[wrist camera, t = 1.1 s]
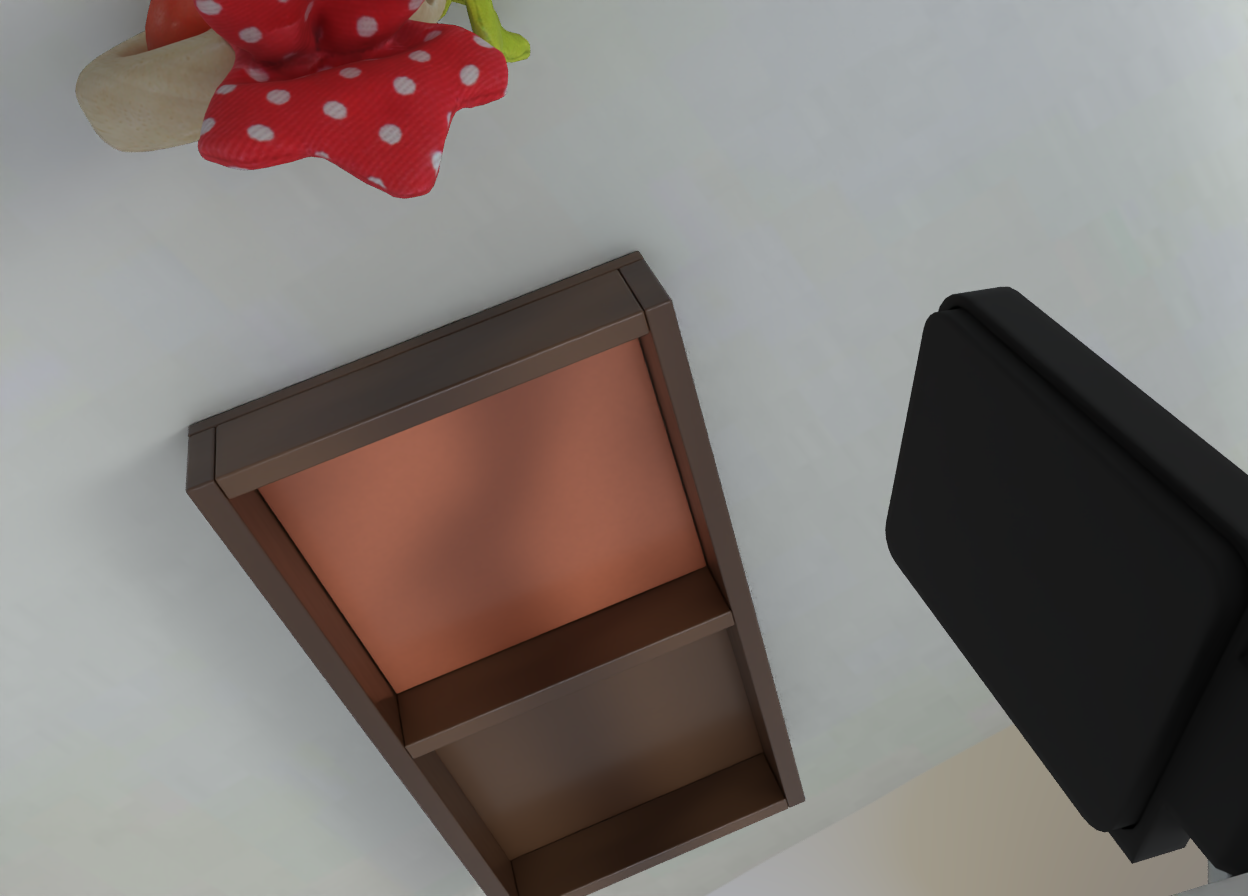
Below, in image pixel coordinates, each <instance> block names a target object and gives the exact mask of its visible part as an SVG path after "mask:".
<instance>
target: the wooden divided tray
mask: <svg viewBox="0 0 1248 896" xmlns="http://www.w3.org/2000/svg"><path fill="white" fill-rule="evenodd" d="M188 437H189V440H188V458H187V476H186V493H187V494H188V495H189V497H190V498H191V499H192V501H193V502H194V503H195V505H196V506H197V507H198V509H199V510H200V512H201V513H202V514H203V516H204V517H205V518H206V520H207V521H208V522H209V524H210V525H211V526H212V528H213V529H214V530H215V532H216V533H217V534H218V536H219V537H220V538H221V540H222V541H223V542H224V544H225V545H226V546H227V548H228V549H229V550H230V552H231V553H232V554H233V556H234V557H235V558H236V560H237V561H238V563H239V564H240V565H241V567H242V568H243V569H244V571H245V572H246V573H247V575H248V576H249V577H250V579H251V580H252V581H253V583H254V584H255V585H256V587H257V588H258V589H259V591H260V592H261V593H262V595H263V596H264V597H265V599H266V600H267V601H268V603H269V604H270V605H271V607H272V608H273V610H274V611H275V612H276V614H277V615H278V616H279V618H280V619H281V620H282V622H283V623H284V624H285V626H286V627H287V628H288V630H289V631H290V632H291V634H292V635H293V636H294V638H295V639H296V640H297V642H298V643H299V644H300V646H301V647H302V648H303V650H304V651H305V652H306V654H307V655H308V656H309V658H310V659H311V661H312V662H313V663H314V665H315V666H316V667H317V669H318V670H319V671H320V673H321V674H322V675H323V677H324V678H325V679H326V681H327V682H328V683H329V685H330V686H331V687H332V689H333V690H334V691H335V693H336V694H337V695H338V697H339V698H340V699H341V701H342V702H343V703H344V705H345V706H346V708H347V709H348V710H349V712H350V713H351V714H352V716H353V717H354V718H355V720H356V721H357V722H358V724H359V725H360V726H361V728H362V729H363V730H364V732H365V733H366V734H367V736H368V737H369V738H370V740H371V741H372V742H373V744H374V745H375V746H376V748H377V749H378V750H379V752H380V753H381V754H382V756H383V757H384V759H385V760H386V761H387V763H388V764H389V765H390V767H391V768H392V769H393V771H394V772H395V773H396V775H397V776H398V777H399V779H400V780H401V781H402V783H403V784H404V785H405V787H406V788H407V789H408V791H409V792H410V793H411V795H412V796H413V797H414V799H415V800H416V801H417V803H418V804H419V806H420V807H421V808H422V810H423V811H424V812H425V814H426V815H427V816H428V818H429V819H430V820H431V822H432V823H433V824H434V826H435V827H436V828H437V830H438V831H439V832H440V834H441V835H442V836H443V838H444V839H445V840H446V842H447V843H448V844H449V846H450V847H451V848H452V850H453V851H454V852H455V854H456V855H457V857H458V858H459V859H460V861H461V862H462V863H463V865H464V866H465V867H466V869H467V870H468V871H469V873H470V874H471V875H472V877H473V878H474V879H475V881H476V882H477V883H478V885H479V886H480V887H481V889H482V890H483V891H484V893H485V894H486V895H487V896H586V895H588V894H591V893H593V892H595V891H598V890H600V889H602V888H605V887H607V886H609V885H612V884H614V883H616V882H619V881H621V880H623V879H626V878H628V877H630V876H632V875H635V874H637V873H639V872H642V871H644V870H646V869H649V868H651V867H653V866H656V865H658V864H660V863H663V862H665V861H667V860H670V859H672V858H674V857H677V856H679V855H681V854H684V853H686V852H688V851H690V850H693V849H695V848H697V847H700V846H702V845H704V844H707V843H709V842H711V841H714V840H716V839H718V838H721V837H723V836H725V835H728V834H730V833H732V832H735V831H737V830H739V829H741V828H744V827H746V826H748V825H751V824H753V823H755V822H758V821H760V820H762V819H765V818H767V817H769V816H772V815H774V814H776V813H779V812H781V811H783V810H786V809H788V807H792V806H795V805H797V804H799V803H802V802H804V801H805V796H804V792H803V789H802V785H801V781H800V778H799V774H798V770H797V766H796V763H795V759H794V755H793V751H792V748H791V744H790V740H789V736H788V733H787V729H786V725H785V721H784V718H783V714H782V710H781V707H780V703H779V699H778V695H777V692H776V688H775V684H774V680H773V677H772V673H771V669H770V665H769V662H768V658H767V654H766V650H765V647H764V643H763V639H762V636H761V632H760V628H759V624H758V621H757V617H756V613H755V609H754V606H753V602H752V598H751V594H750V591H749V587H748V583H747V579H746V576H745V572H744V568H743V565H742V561H741V557H740V553H739V550H738V546H737V542H736V538H735V535H734V531H733V527H732V523H731V520H730V516H729V512H728V508H727V505H726V501H725V497H724V494H723V490H722V486H721V482H720V479H719V475H718V471H717V467H716V464H715V460H714V456H713V452H712V449H711V445H710V441H709V438H708V434H707V430H706V426H705V423H704V419H703V415H702V411H701V408H700V404H699V400H698V396H697V393H696V389H695V385H694V381H693V378H692V374H691V370H690V367H689V363H688V359H687V355H686V352H685V348H684V344H683V340H682V337H681V333H680V329H679V325H678V322H677V318H676V314H675V310H674V307H673V303H672V300H671V298H670V297H669V295H668V294H667V293H666V291H665V290H664V288H663V287H662V285H661V284H660V282H659V281H658V279H657V278H656V276H655V275H654V273H653V272H652V270H651V269H650V267H649V266H648V265H647V263H646V262H645V260H644V258H643V257H642V255H641V254H640V252H639V251H637V252H634V253H631V254H629V255H626V256H624V257H621V258H619V259H616V260H614V261H611V262H608V263H606V264H603V265H601V266H598V267H596V268H593V269H590V270H588V271H585V272H583V273H580V274H578V275H575V276H573V277H570V278H567V279H565V280H562V281H560V282H557V283H555V284H552V285H549V286H547V287H544V288H542V289H539V290H537V291H534V292H532V293H529V294H526V295H524V296H521V297H519V298H516V299H514V300H511V301H509V302H506V303H503V304H501V305H498V306H496V307H493V308H491V309H488V310H485V311H483V312H480V313H478V314H475V315H473V316H470V317H468V318H465V319H462V320H460V321H457V322H455V323H452V324H450V325H447V326H444V327H442V328H439V329H437V330H434V331H432V332H429V333H427V334H424V335H421V336H419V337H416V338H414V339H411V340H409V341H406V342H404V343H401V344H398V345H396V346H393V347H391V348H388V349H386V350H383V351H380V352H378V353H375V354H373V355H370V356H368V357H365V358H363V359H360V360H357V361H355V362H352V363H350V364H347V365H345V366H342V367H339V368H337V369H334V370H332V371H329V372H327V373H324V374H322V375H319V376H316V377H314V378H311V379H309V380H306V381H304V382H301V383H299V384H296V385H293V386H291V387H288V388H286V389H283V390H281V391H278V392H275V393H273V394H270V395H268V396H265V397H263V398H260V399H258V400H255V401H252V402H250V403H247V404H245V405H242V406H240V407H237V408H234V409H232V410H229V411H227V412H224V413H222V414H219V415H217V416H214V417H211V418H209V419H206V420H204V421H201V422H199V423H196V424H194V425H191V426H189V429H188Z"/></svg>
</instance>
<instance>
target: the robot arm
mask: <svg viewBox="0 0 1248 896" xmlns="http://www.w3.org/2000/svg"><path fill="white" fill-rule="evenodd" d="M885 531H886V540H887V544H888V548H889V551H890V553H891V556H892V557H893V559H894V561H895V562H896V564H897V565H898V567H899V568H900V569H901V571H902V572H903V573H904V575H905V576H906V577H907V579H908V580H909V581H910V583H911V584H912V586H913V587H914V588H915V590H916V591H917V592H918V594H919V595H920V596H921V598H922V599H923V601H924V602H925V603H926V605H927V606H928V607H929V609H930V610H931V611H932V613H933V614H934V616H935V617H936V618H937V620H938V621H939V622H940V624H941V625H942V626H943V628H944V629H945V630H946V632H947V633H948V635H949V636H950V637H951V639H952V640H953V641H954V643H955V644H956V645H957V647H958V648H959V650H960V651H961V652H962V654H963V655H964V656H965V658H966V659H967V660H968V662H969V663H970V665H971V666H972V667H973V669H974V670H975V671H976V673H977V674H978V675H979V677H980V678H981V679H982V681H983V682H984V684H985V685H986V686H987V688H988V689H989V690H990V692H991V693H992V694H993V696H994V697H995V699H996V700H997V701H998V703H999V704H1000V705H1001V707H1002V708H1003V709H1004V711H1005V712H1006V714H1007V715H1008V716H1009V718H1010V719H1011V720H1012V722H1013V723H1014V724H1015V726H1016V727H1017V728H1018V730H1019V731H1020V733H1021V734H1022V735H1023V737H1024V738H1025V739H1026V741H1027V742H1028V743H1029V745H1030V746H1031V747H1032V749H1033V750H1034V751H1035V753H1036V754H1037V756H1038V757H1039V758H1040V760H1041V761H1042V762H1043V764H1044V765H1045V767H1046V768H1047V769H1048V770H1049V772H1050V773H1051V775H1052V776H1053V777H1054V779H1055V780H1056V782H1057V783H1058V784H1059V786H1060V787H1061V788H1062V790H1063V791H1064V792H1065V794H1066V795H1067V796H1068V798H1069V799H1070V801H1071V802H1072V803H1073V805H1074V806H1075V807H1076V809H1077V810H1078V811H1079V813H1080V814H1081V816H1082V817H1083V818H1084V819H1085V820H1086V821H1087V822H1088V823H1089V825H1091V826H1092V827H1094V828H1095V829H1096V830H1099V831H1102V832H1109V833H1110V835H1111V836H1112V837H1113V839H1114V840H1115V841H1116V843H1117V844H1118V845H1119V847H1120V848H1121V849H1122V851H1123V852H1124V853H1125V855H1126V856H1127V857H1128V859H1129V860H1130V861H1131V863H1132V864H1133V863H1136V862H1139V861H1142V860H1145V859H1149V858H1152V857H1155V856H1158V855H1162V854H1165V853H1168V852H1172V851H1175V850H1178V849H1181V848H1184V847H1185V846H1186V844H1187V842H1188V841H1189V839H1190V838H1191V839H1192V840H1193V842H1194V843H1195V844H1196V845H1197V846H1198V848H1199V849H1200V850H1201V851H1202V853H1203V854H1204V855H1205V856H1206V857H1207V859H1208V884H1207V885H1204V886H1200V887H1197V888H1194V889H1191V890H1187V891H1184V892H1181V893H1178V894H1175V895H1171V896H1248V475H1247V474H1246V473H1245V472H1243V471H1242V470H1241V469H1240V468H1238V467H1237V466H1236V465H1235V464H1233V463H1232V462H1231V461H1230V460H1228V459H1227V458H1226V457H1225V456H1223V455H1222V454H1221V453H1220V452H1218V451H1217V450H1216V449H1215V448H1213V447H1212V446H1211V445H1210V444H1208V443H1207V442H1206V441H1205V440H1203V439H1202V438H1201V437H1200V436H1198V435H1197V434H1196V433H1194V432H1193V431H1192V430H1191V429H1189V428H1188V427H1187V426H1186V425H1184V424H1183V423H1182V422H1181V421H1179V420H1178V419H1177V418H1176V417H1174V416H1173V415H1172V414H1171V413H1169V412H1168V411H1167V410H1166V409H1164V408H1163V407H1162V406H1161V405H1159V404H1158V403H1157V402H1156V401H1154V400H1153V399H1152V398H1151V397H1149V396H1148V395H1147V394H1146V393H1144V392H1143V391H1142V390H1141V389H1139V388H1138V387H1137V386H1136V385H1134V384H1133V383H1132V382H1131V381H1129V380H1128V379H1127V378H1126V377H1124V376H1123V375H1122V374H1121V373H1119V372H1118V371H1117V370H1116V369H1114V368H1113V367H1112V366H1111V365H1109V364H1108V363H1107V362H1106V361H1104V360H1103V359H1102V358H1101V357H1099V356H1098V355H1097V354H1096V353H1094V352H1093V351H1092V350H1091V349H1089V348H1088V347H1087V346H1085V345H1084V344H1083V343H1082V342H1080V341H1079V340H1078V339H1077V338H1075V337H1074V336H1073V335H1072V334H1070V333H1069V332H1068V331H1067V330H1065V329H1064V328H1063V327H1062V326H1060V325H1059V324H1058V323H1057V322H1055V321H1054V320H1053V319H1052V318H1050V317H1049V316H1048V315H1047V314H1045V313H1044V312H1043V311H1042V310H1040V309H1039V308H1038V307H1037V306H1035V305H1034V304H1033V303H1032V302H1030V301H1029V300H1028V299H1027V298H1025V297H1024V296H1023V295H1022V294H1020V293H1019V292H1018V291H1016V290H1014V289H1012V288H1010V287H997V288H990V289H984V290H978V291H971V292H965V293H959V294H952V295H951V296H949V297H947V298H946V299H945V300H944V301H943V303H942V304H941V306H940V308H939V311H938V312H935V313H933V314H932V315H930V316H929V318H928V319H927V321H926V323H925V326H924V330H923V335H922V340H921V345H920V350H919V355H918V361H917V366H916V371H915V376H914V381H913V386H912V392H911V397H910V402H909V407H908V412H907V417H906V422H905V428H904V433H903V438H902V443H901V448H900V453H899V459H898V464H897V469H896V474H895V479H894V484H893V490H892V495H891V500H890V505H889V510H888V515H887V520H886V529H885Z"/></svg>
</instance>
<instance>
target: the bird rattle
mask: <svg viewBox="0 0 1248 896" xmlns="http://www.w3.org/2000/svg"><path fill="white" fill-rule="evenodd" d="M451 2H456V3H460V4H463V5H466V7H467V12H468V16H469V19H470V23H471V26H472V30H473V32H471V31H468V30H466V29H464V28H462V27H459V26H456V25H448V24H438V23H437V22H438V20H440V19H441V18H442V17H443V16H445V14H446V12H447V10H448V8H449V6H450V4H451ZM529 56H530V44H529V43H528V41H527V40H526V39H525V38H523V37H522V36H521V35H519V34H516V33H512V32H508V31H506V30H505V29H504V28H503V27H502V26H501V24H500V21H499V18H498V15H497V13H496V11H495V10H494V8H493V4H492V1H491V0H151V2H150V6H149V10H148V14H147V20H146V26H145V31H144V32H142V33H140V34H138V35H136V36H134V37H132V38H130V39H128V40H126V41H124V42H122V43H120V44H119V45H117V46H115V47H113V48H111V49H110V50H108V51H107V52H105V53H103V54H102V55H100V56H98V57H97V58H96V59H94V60H93V61H92V62H91V63H89V64H88V65H87V66H86V67H85V68H84V69H83V71H82V72H81V73H80V75H79V77H78V79H77V83H76V90H75V92H76V97H77V100H78V102H79V105H80V107H81V109H82V110H83V112H84V114H85V116H86V117H87V119H88V120H89V122H90V124H91V125H92V127H93V128H94V130H95V132H96V133H97V134H98V135H99V137H100V138H101V139H102V140H103V141H104V142H106V143H107V144H109V145H110V146H111V147H113V148H115V149H117V150H120V151H123V152H146V151H154V150H160V149H165V148H171V147H175V146H180V145H184V144H188V143H192V142H196V141H198V150H199V152H200V154H201V156H202V157H203V158H204V159H206V160H208V161H211V162H214V163H217V164H220V165H223V166H226V167H229V168H234V169H239V170H254V169H261V168H267V167H272V166H276V165H280V164H284V163H289V162H293V161H296V160H299V159H303V158H306V157H311V156H312V157H320V158H324V159H326V160H328V161H330V162H332V163H334V164H336V165H337V166H339V167H340V168H342V169H344V170H345V171H347V172H348V173H350V174H352V175H353V176H355V177H356V178H358V179H360V180H361V181H363V182H365V183H366V184H368V185H371V186H373V187H375V188H378V189H380V190H382V191H384V192H386V193H388V194H389V195H391V196H393V197H397V198H404V199H405V198H412V197H417V196H422V195H425V194H427V193H429V192H430V190H431V189H432V187H433V186H434V184H435V181H436V178H437V175H438V172H439V167H440V161H441V157H442V152H443V148H444V143H445V139H446V136H447V134H448V131H449V128H450V124H451V121H452V118H453V116H454V114H455V113H456V112H457V111H458V110H460V109H462V108H473V107H475V106H480V105H484V104H487V103H490V102H492V101H495V100H498V99H500V98H502V97H504V96H505V95H506V93H507V84H508V68H507V63H508V62H511V63H512V62H516V61H520V60H524V59H527V58H528V57H529Z"/></svg>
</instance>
